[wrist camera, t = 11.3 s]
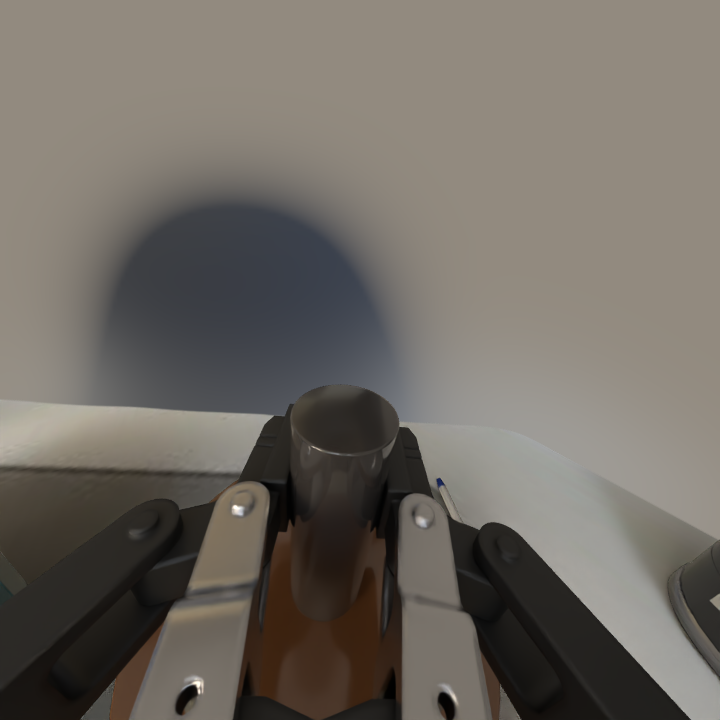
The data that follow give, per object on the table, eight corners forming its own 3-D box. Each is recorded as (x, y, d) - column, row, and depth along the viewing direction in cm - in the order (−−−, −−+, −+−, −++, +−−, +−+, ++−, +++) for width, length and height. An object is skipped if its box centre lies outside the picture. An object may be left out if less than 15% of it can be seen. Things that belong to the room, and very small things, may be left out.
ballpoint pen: (526, 657, 14) (534, 649, 13) (511, 660, 13) (518, 652, 13) (440, 482, 23) (443, 474, 22) (430, 482, 23) (433, 474, 22)
